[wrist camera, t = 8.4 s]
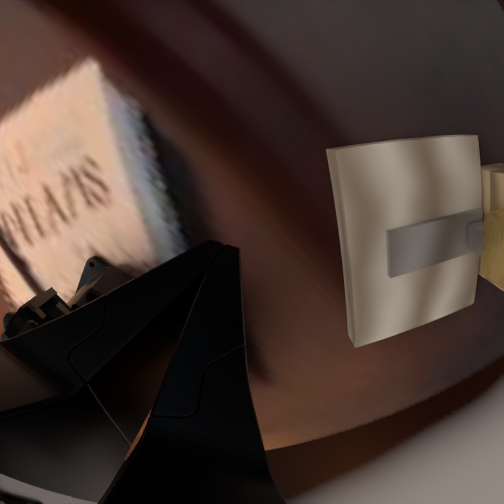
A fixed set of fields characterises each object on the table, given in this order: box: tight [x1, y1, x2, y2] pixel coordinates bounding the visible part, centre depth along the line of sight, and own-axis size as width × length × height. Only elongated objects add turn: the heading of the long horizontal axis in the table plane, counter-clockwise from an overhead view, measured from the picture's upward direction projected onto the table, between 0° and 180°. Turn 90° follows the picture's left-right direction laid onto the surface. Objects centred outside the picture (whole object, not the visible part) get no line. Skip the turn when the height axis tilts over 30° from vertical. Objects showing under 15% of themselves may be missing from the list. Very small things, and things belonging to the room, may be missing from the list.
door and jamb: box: [326, 134, 504, 348], centre depth 18 cm, size 19×16×10 cm
